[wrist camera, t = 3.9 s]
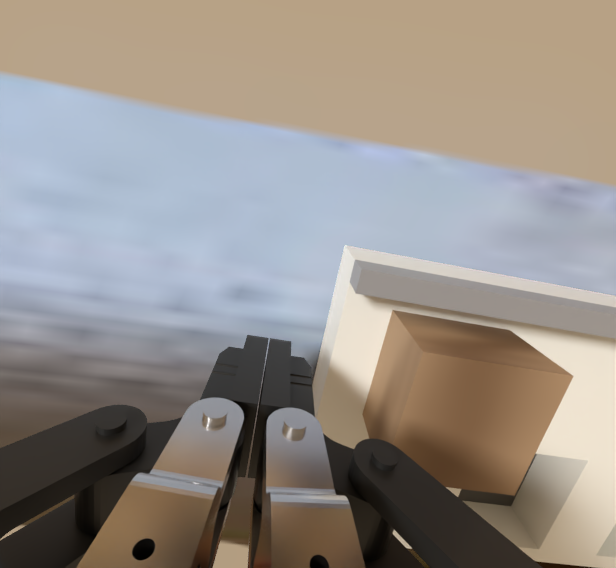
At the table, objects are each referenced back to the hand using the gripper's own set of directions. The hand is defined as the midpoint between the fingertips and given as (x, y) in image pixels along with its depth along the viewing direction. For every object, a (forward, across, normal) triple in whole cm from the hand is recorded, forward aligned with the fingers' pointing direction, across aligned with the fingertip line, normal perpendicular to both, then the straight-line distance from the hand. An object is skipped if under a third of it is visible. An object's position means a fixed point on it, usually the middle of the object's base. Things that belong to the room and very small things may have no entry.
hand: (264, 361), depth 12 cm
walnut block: (+1, -6, 0) cm, 6 cm away
